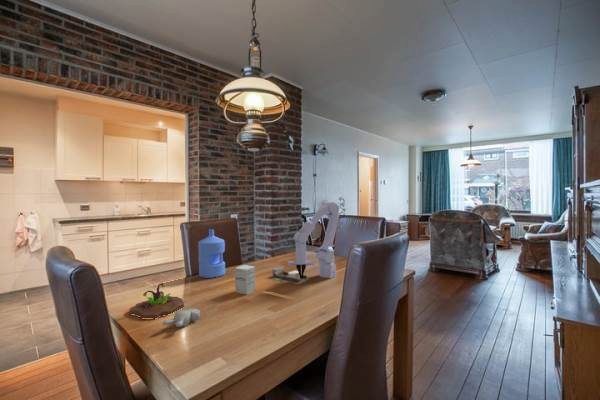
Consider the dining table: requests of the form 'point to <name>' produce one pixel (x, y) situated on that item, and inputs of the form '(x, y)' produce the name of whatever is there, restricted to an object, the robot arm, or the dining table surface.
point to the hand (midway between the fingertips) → (301, 278)
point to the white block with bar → (293, 274)
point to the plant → (157, 305)
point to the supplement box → (245, 279)
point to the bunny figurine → (184, 317)
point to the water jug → (211, 256)
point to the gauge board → (279, 273)
